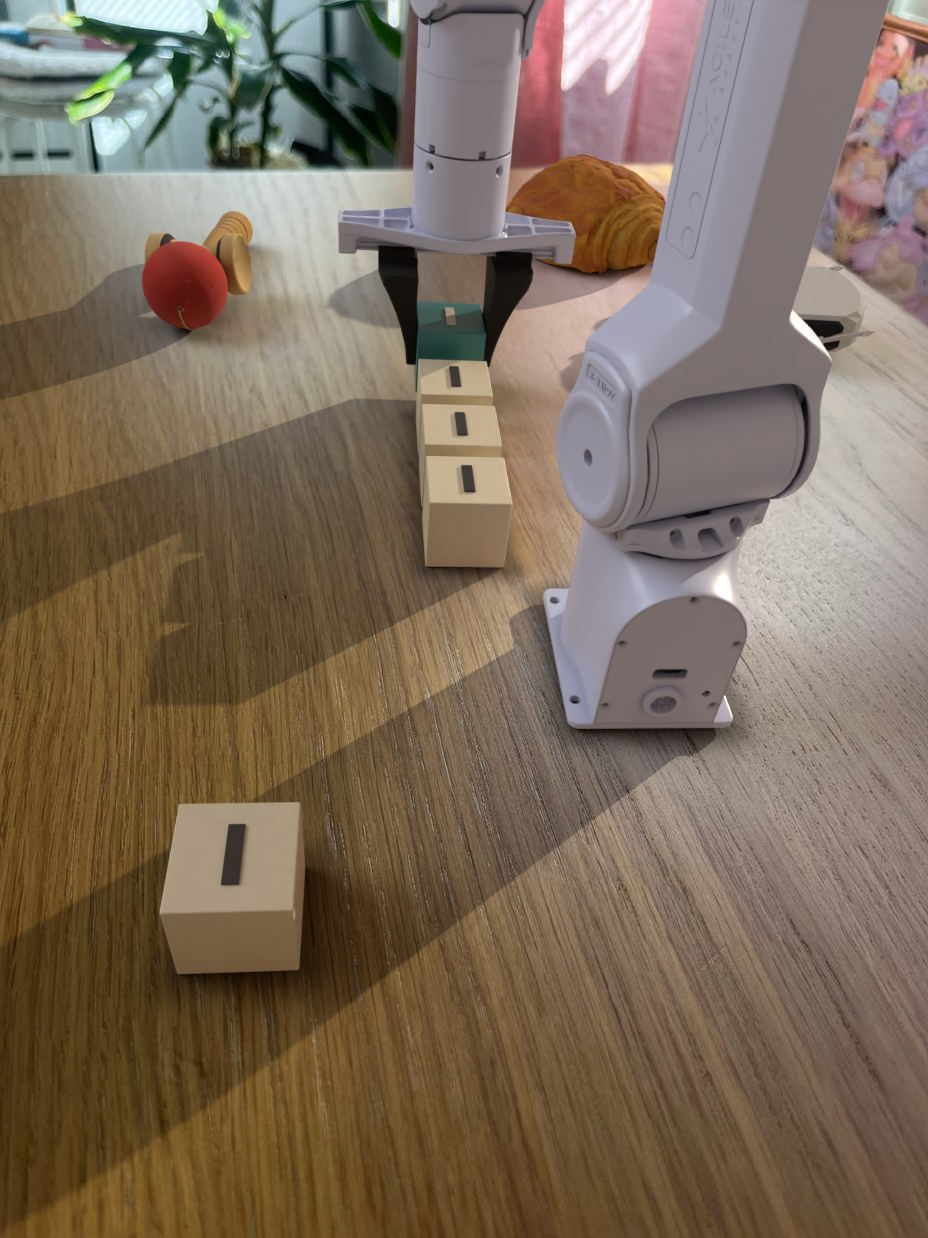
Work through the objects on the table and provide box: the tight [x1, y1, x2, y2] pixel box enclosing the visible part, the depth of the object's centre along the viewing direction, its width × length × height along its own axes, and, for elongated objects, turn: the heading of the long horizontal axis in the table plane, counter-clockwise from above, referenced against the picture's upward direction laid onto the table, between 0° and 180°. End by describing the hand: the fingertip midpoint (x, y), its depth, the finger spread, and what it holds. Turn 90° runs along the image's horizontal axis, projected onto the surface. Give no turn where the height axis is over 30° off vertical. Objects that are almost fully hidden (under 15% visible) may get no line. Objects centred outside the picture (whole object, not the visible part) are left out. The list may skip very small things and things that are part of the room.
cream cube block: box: [415, 359, 494, 456], centre depth 60 cm, size 4×4×4 cm
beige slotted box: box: [159, 801, 306, 975], centre depth 34 cm, size 4×4×4 cm
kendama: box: [141, 210, 254, 331], centre depth 72 cm, size 8×6×18 cm
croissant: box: [505, 153, 666, 275], centre depth 85 cm, size 14×16×8 cm
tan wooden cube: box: [418, 404, 503, 508], centre depth 56 cm, size 4×4×4 cm
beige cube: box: [421, 456, 513, 568], centre depth 52 cm, size 4×4×4 cm
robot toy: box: [792, 264, 876, 353], centre depth 74 cm, size 12×4×15 cm
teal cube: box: [413, 300, 486, 393], centre depth 63 cm, size 4×4×4 cm
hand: (447, 358), depth 63 cm, fingers closed on teal cube, 4 cm apart
